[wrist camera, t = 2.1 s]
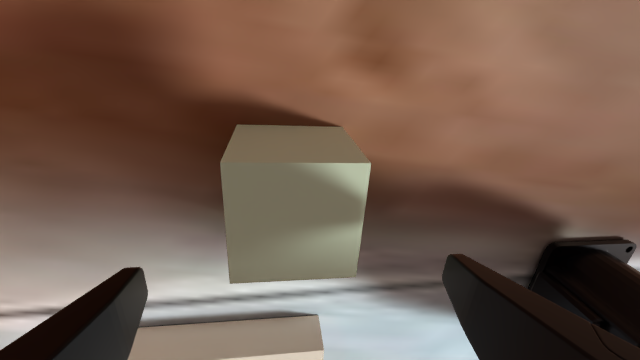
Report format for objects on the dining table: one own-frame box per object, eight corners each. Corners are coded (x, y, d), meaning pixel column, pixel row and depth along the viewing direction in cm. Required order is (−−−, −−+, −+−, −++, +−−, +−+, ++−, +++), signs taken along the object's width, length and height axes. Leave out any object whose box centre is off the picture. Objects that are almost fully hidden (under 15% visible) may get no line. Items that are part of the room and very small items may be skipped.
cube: (341, 126, 15) (371, 163, 10) (334, 214, 17) (355, 277, 12) (237, 124, 14) (220, 162, 10) (242, 216, 16) (229, 283, 12)
